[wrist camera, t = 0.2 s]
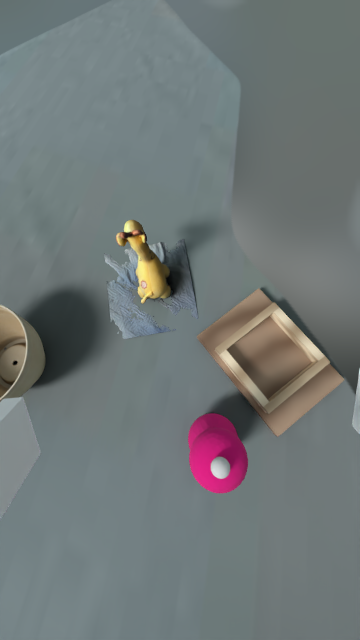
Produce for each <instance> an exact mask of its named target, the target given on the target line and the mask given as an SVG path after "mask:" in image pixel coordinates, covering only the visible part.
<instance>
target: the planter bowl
mask: <svg viewBox="0 0 360 640" xmlns="http://www.w3.org/2000/svg"><path fill="white" fill-rule="evenodd" d="M14 361H17V362H18V363H17V364H16V365H14V364H13V363H14ZM44 367H45V353H44V349H43V345H42V342H41V339H40V337H39V335H38V333H37V332H36V330H35V329H34V328H33V327H32V326H31V325H30V324H29V323H28V322H27V321H26V320H25V319H23V318H22V317H20V316H19V315H17V314H16V313H15V312H13V311H12V310H10V309H9V308H7V307H5V306H2V305H0V402H1V401H2V400H3V399H7V398H18V397H20V396H22V395H23V394H24V393H25V392H26V391H28V390H29V389H30V388H31V387H32V385H33V384H34V383H35V382H36V381H37V380H38V379H39V378H40V376H41V374H42V373H43V370H44Z"/></svg>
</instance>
